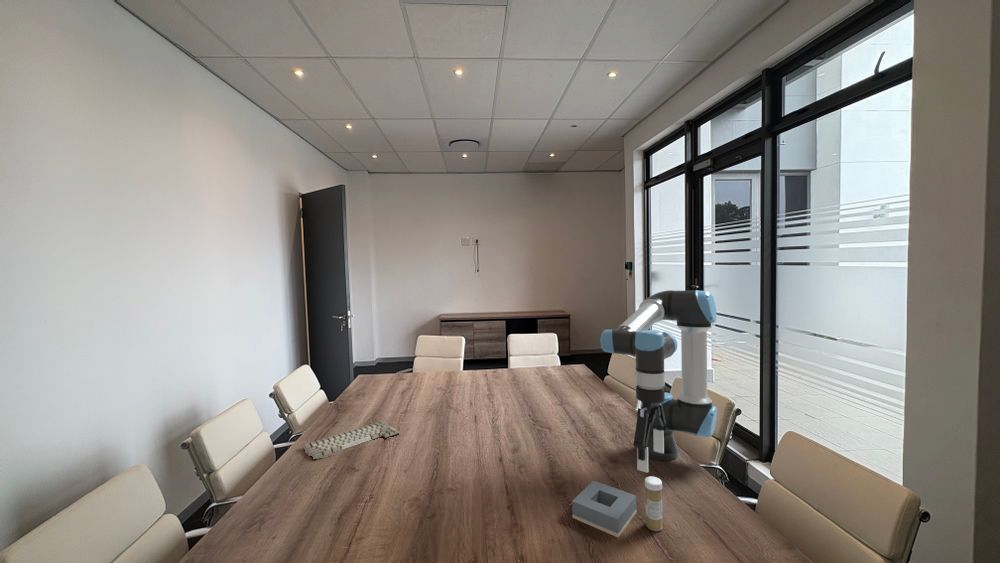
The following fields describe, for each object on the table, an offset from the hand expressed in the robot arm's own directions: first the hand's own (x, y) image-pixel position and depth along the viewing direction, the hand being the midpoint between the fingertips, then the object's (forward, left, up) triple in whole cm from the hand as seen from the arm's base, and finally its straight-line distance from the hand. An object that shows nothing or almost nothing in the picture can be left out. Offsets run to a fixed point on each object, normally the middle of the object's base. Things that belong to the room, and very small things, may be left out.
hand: (651, 461), depth 107 cm
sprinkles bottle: (-1, 0, -19) cm, 19 cm away
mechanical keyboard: (+22, -123, -20) cm, 126 cm away
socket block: (+3, -13, -19) cm, 23 cm away
